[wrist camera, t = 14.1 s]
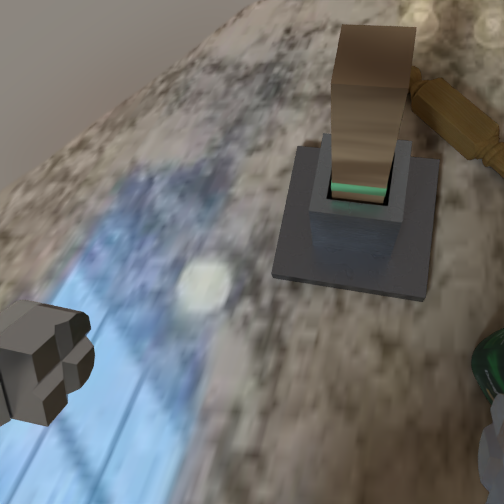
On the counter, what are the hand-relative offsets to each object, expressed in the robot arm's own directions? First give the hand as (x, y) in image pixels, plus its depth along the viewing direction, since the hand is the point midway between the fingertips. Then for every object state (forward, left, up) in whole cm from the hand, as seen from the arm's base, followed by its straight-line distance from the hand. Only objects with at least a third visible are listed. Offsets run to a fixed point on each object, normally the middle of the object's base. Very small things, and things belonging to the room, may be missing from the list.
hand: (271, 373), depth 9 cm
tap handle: (-1, -29, -35) cm, 45 cm away
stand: (+8, -16, -34) cm, 39 cm away
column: (+8, -16, -27) cm, 32 cm away
